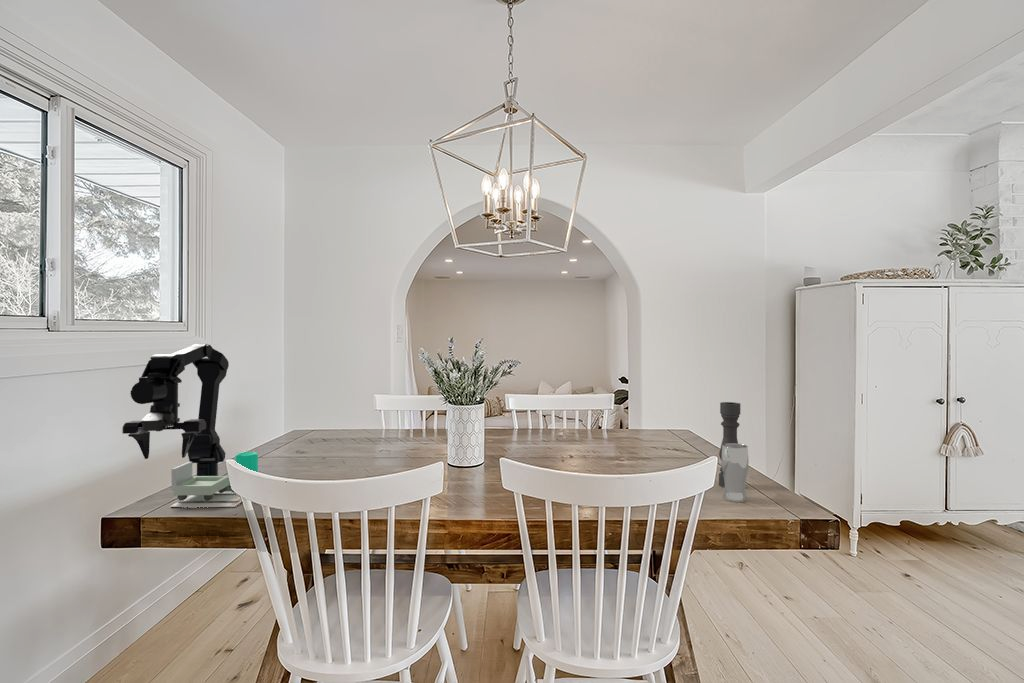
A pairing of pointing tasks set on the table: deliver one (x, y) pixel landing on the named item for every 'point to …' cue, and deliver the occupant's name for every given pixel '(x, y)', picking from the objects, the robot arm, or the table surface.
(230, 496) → the track
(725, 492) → the beer glass
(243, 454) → the candle
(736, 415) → the candle holder
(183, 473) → the cart
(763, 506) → the table surface
